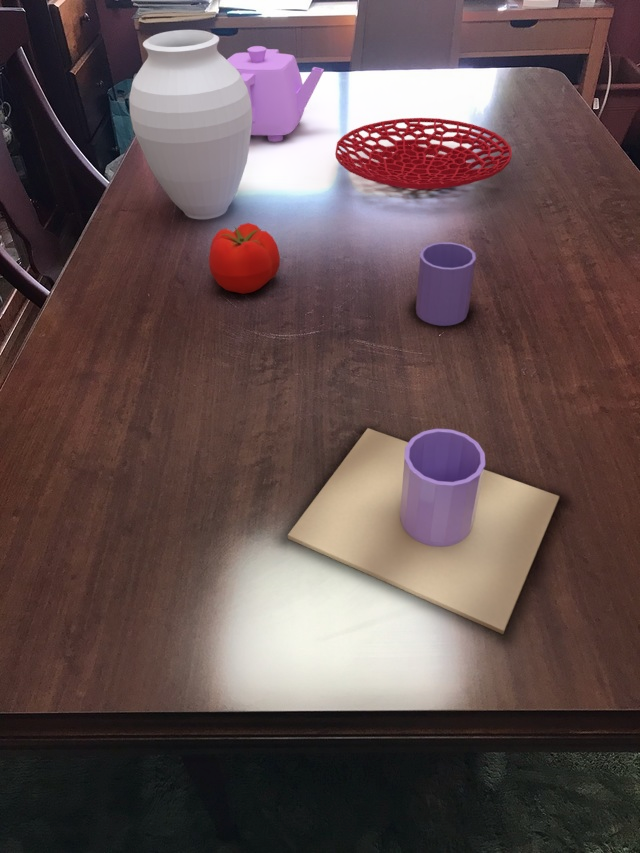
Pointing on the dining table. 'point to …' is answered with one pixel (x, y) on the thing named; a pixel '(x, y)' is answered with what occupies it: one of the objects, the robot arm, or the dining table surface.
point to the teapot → (274, 90)
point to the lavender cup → (441, 486)
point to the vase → (192, 120)
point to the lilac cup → (444, 283)
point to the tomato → (243, 258)
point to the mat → (419, 563)
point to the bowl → (423, 154)
